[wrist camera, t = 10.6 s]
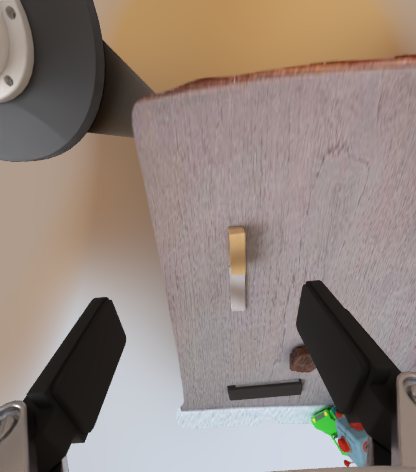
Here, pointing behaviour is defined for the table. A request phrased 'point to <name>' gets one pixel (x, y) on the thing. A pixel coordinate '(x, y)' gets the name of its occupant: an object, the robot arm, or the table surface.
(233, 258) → the knife
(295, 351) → the stone
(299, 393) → the dark grey flat bar
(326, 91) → the table surface
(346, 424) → the toy robot
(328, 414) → the toy car
